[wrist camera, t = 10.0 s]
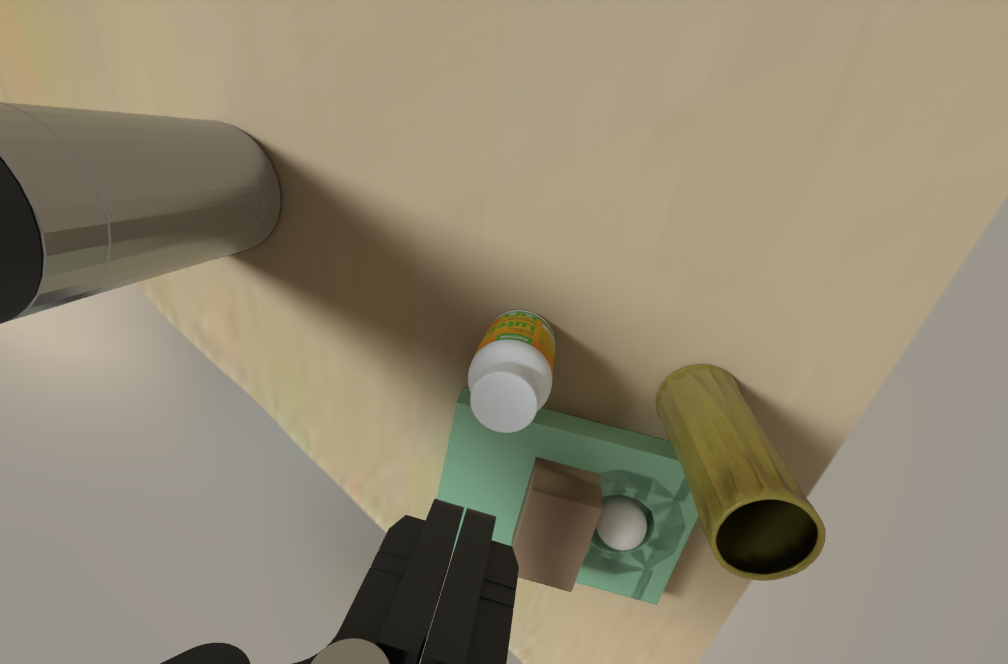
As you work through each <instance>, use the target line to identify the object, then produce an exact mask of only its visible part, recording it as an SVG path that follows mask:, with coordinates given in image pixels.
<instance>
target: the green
mask: <svg viewBox="0 0 1008 664" xmlns="http://www.w3.org/2000/svg"><path fill="white" fill-rule="evenodd" d="M470 396H471V393H470V390H469V389H468V388H463V391H462V393H461V395H460V397H459V399H458V401H457V405H456V410H455V414H454V419H453V424H452V429H451V433H450V438H449V443H448V448H447V453H446V457H445V462H444V467H443V472H442V477H441V481H440V486H439V491H438V496H437V499H438V500H442V501H445V502H448V503H452V504H455V505H459V506H462V507H464V511H463V515H462V518H461V522H460V526H459V530H458V533H457V537H456V541H455V544H454V548H453V549H455V546H456V542H457V539H458V536H459V532H460V529H461V526H462V523H463V519H464V516H465V513H466V509H467V508H469V509H473V510H476V511H480V512H483V513H486V514H490V515H493V516H496V522H495V526H494V531H493V536H492V540H493V541H496V542H499V543H503V544H506V545H510V546H511V542H512V536H513V532H514V529H515V525H516V522H517V519H518V515H519V512H520V509H521V505H522V502H523V498H524V495H525V492H526V488H527V485H528V482H529V478H530V475H531V472H532V468H533V465H534V461H535V458H536V457H539V458H543V459H547V460H550V461H554V462H558V463H561V464H565V465H569V466H573V467H576V468H580V469H584V470H587V471H591V472H595V473H599V474H600V486H601V499H602V504H603V503H604V502H605V501H606V500H608V499H610V498H614V497H624V498H628V499H630V500H632V501H634V502H635V503H636V504H637V505H639V507H640V508H641V509H642V511H643V512H644V515H645V517H646V522H647V531H646V534H645V537H644V539H643V541H642V542H641V543H640V544H639V545H638V546H637V547H635V548H633V549H630V550H625V551H622V550H616V549H613V548H611V547H610V546H608V545H607V544H606V543H604V542H603V540H602V539H601V538H600V536H599V534H598V532H597V529H596V528H595V530H594V533H593V536H592V538H591V541H590V544H589V546H588V549H587V552H586V554H585V557H584V560H583V562H582V565H581V568H580V570H579V573H578V576H577V578H576V581H575V582H576V583H579V584H583V585H587V586H590V587H594V588H597V589H601V590H605V591H608V592H612V593H615V594H619V595H623V596H626V597H630V598H633V599H637V600H641V601H644V602H648V603H651V604H655V605H657V603H658V601H659V599H660V597H661V595H662V593H663V591H664V589H665V586H666V584H667V582H668V580H669V578H670V576H671V574H672V572H673V569H674V567H675V565H676V563H677V561H678V559H679V557H680V554H681V552H682V550H683V548H684V546H685V544H686V542H687V540H688V537H689V535H690V533H691V531H692V529H693V527H694V525H695V522H696V520H697V518H698V516H699V515H698V512H697V509H696V506H695V503H694V500H693V497H692V494H691V491H690V488H689V485H688V482H687V479H686V477H685V474H684V472H683V470H682V468H681V465H680V463H679V461H678V458H677V456H676V453H675V451H674V448H673V446H672V444H671V442H670V441H667V440H663V439H659V438H655V437H652V436H648V435H644V434H640V433H636V432H632V431H629V430H625V429H621V428H617V427H613V426H609V425H606V424H602V423H598V422H594V421H590V420H586V419H583V418H579V417H575V416H571V415H567V414H564V413H560V412H556V411H552V410H548V409H544V408H540V409H539V410H538V411H537V413H536V415H535V417H534V419H533V420H532V422H531V423H530V424H529V425H528V426H526V427H525V428H523V429H521V430H519V431H516V432H511V433H502V432H497V431H493V430H491V429H489V428H487V427H485V426H484V425H483V424H482V423H480V422H479V420H478V419H477V418H476V417H475V415H474V413H473V411H472V409H471V404H470Z"/></svg>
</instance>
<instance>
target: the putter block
mask: <svg viewBox="0 0 1008 664" xmlns="http://www.w3.org/2000/svg"><path fill="white" fill-rule="evenodd" d="M601 512H602V499H601V486H600V474H599V473H595V472H591V471H587V470H584V469H580V468H576V467H573V466H569V465H565V464H561V463H558V462H554V461H550V460H547V459H543V458H539V457H536V458H535V461H534V465H533V468H532V472H531V475H530V478H529V482H528V485H527V488H526V492H525V495H524V498H523V502H522V505H521V509H520V512H519V515H518V519H517V522H516V525H515V529H514V532H513V536H512V542H511V546H513V550H514V553H515V556H516V559H517V562H518V566H519V571H518V577H519V578H523V579H526V580H530V581H533V582H537V583H541V584H544V585H548V586H551V587H555V588H558V589H562V590H565V591H569V592H571V591H572V589H573V586H574V583H575V581H576V578H577V576H578V573H579V570H580V568H581V565H582V562H583V560H584V557H585V554H586V552H587V549H588V546H589V544H590V541H591V538H592V536H593V533H594V530H595V528H596V525H597V523H598V520H599V517H600V515H601Z"/></svg>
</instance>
